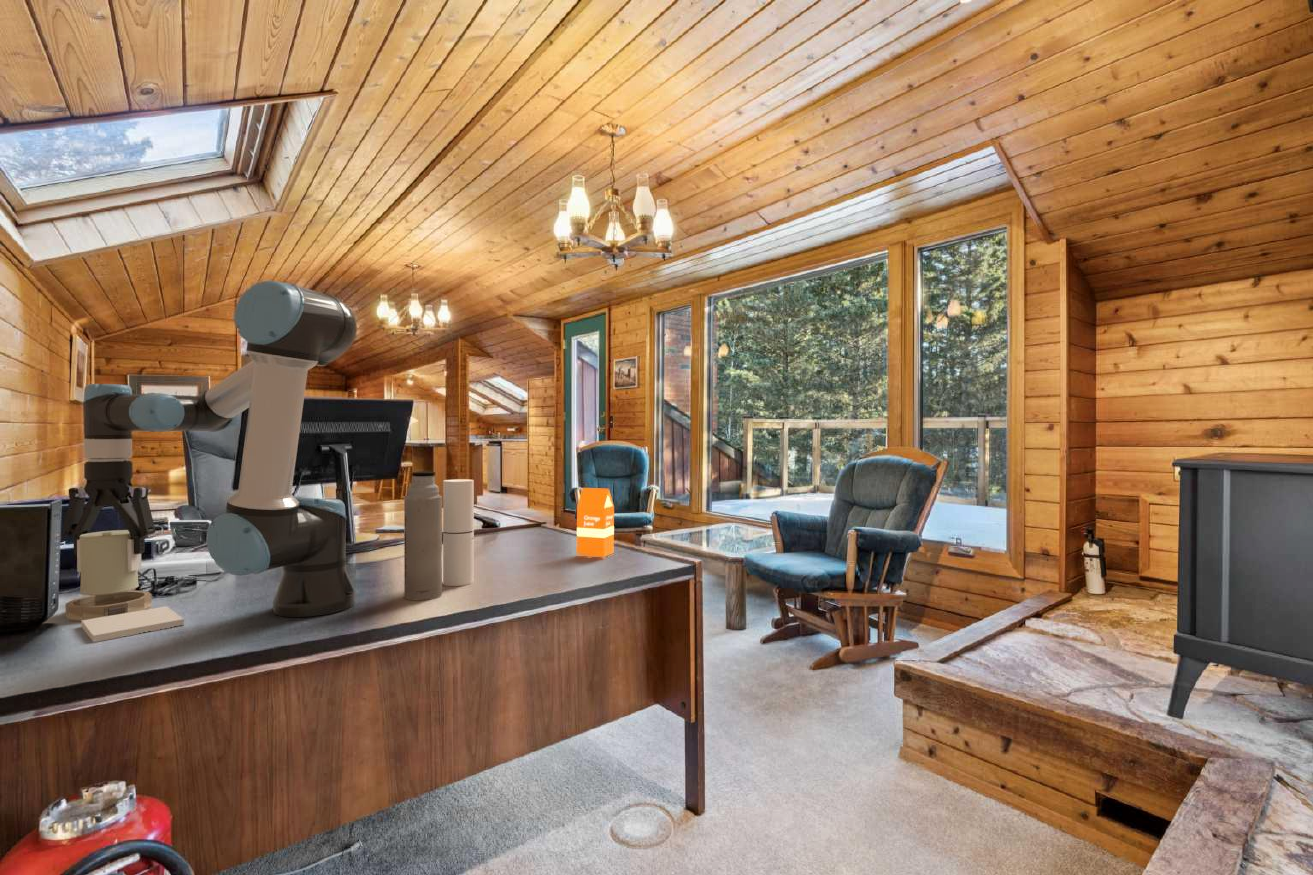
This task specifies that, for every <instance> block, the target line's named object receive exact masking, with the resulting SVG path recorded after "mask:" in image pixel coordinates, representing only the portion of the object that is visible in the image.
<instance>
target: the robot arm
mask: <svg viewBox="0 0 1313 875" xmlns="http://www.w3.org/2000/svg"><path fill="white" fill-rule="evenodd" d="M354 314H355V313H354V312H353V311H352V309H351V308H350V307H349V306H348V304H347V303H346V302H344V301H343V300H342V299H340V298H338V297H336V296H334V295H331V294H328V293H322V292H319V291H317V290H316V291H315V290H313V289H310V288H306V287H302V286H299V285H295V284H293V283H289V282H283V281H275V280H263V281H259V282H256V283H255V284H252V285H251V286H250V288H248V289H246V290H245V291H244V292H243V293H242V294H241V296H240V298H239V299H238V300H237V304H236V306H235V309H234V316H233V318H234V319H233V321H234V325H235V328H237V329H238V330H237V333H238V334H239V336H240V337H241V338H242V339H243V340H245V341H246V342H247V343H246V354H247V355H248V356H249V357H250V359H252V360H251V361H249V362H247V364H245V365H243V366H242V367H241V368H239V369H238V370H236V371H234V372H233V373H232V374H230V375H228V376H227V377H225V378H224V379H222V380H221V381H219V382H218V383H216V384H215V385H214V386H212V387H210V388H208V389H207V390H206V391H204V392H202V393H201V394H199V395H196V396H195V395H183V394H182V395H177V394H176V395H174V394H167V393H161V392H159V393H156V392H148V393H133V390H132V387H131V386H129V385H128V384H119V383H118V384H114V383H89V384H87V385H86V386H85V387H84V389H83V401H82V403H81V404H82V407H83V408H82V410H83V411H82V412H83V414H82V415H83V416H82V417H83V438H84V439H83V458H84V459H85V460H87V461H85V463H83V471H84V472H83V478H84V479H85V480H86V482H85V485H84V486H78V487H70V488H69V489H68V498H69V501H68V506H67V509H66V510H67V511H66V514H65V519H64V524H63V528H62V530H61V534H62V536H63V537H70V538H71V539H72V540H73V553H74V556H76V558H77V559H76V561H77V563H76V568H77V569H76V572H77V573H81V557H80V537H79V536H80V535H83V534H87V533H90V532H91V531H92V530H91V529H92V528H93V525H94V523H95V522H96V519H97V518H98V516H99V514H100V512H101V510H102V509H103V508H104V507H106V506H107V507H113V509H114V510H115V511H117V513H118V515H119V517H120V518H121V519H122V521H123V523H124V526H125V527H126V530H128V531H129V533H130V535H131V537H130V539H127V554H128V571H135V570H138V571H139V570H141V569H142V554H144V553H145V550H146V542H145V541H146V540H145V539H146V537H147V536H150V535H153V534H155V533H156V527H155V523H154V518H153V514H152V511H151V507H150V506H151V505H150V503H149V499H148V497H149V487H148V486H141V487H140V486H134V485H133V484H132V478H133V474H134V473H133V470H134V469H133V468H134V467H133V465H134V462H132V460H129V459H131V458H133V432H149V433H155V432H157V433H161V432H211V433H212V432H213V433H214V432H219V431H229V430H231V429H233V428H235V426H236V425H237V422H238V421H239V419H240V414H241V413H243V412H244V411H246V410H247V409H248V412H247V413H248V414H247V419H246V420H247V421H246V429H245V434H244V435H245V437H244V446H243V452H242V459H241V461H242V462H241V467H240V468H241V469H240V473H239V474H240V476H239V481H238V482H239V483H238V490H237V491H236V492H234V493H233V494H231V495H230V496H229V497H228V498H227V500H226V506H225V512H224V513H223V514H220V515H218V516H216V517H215V518H214V519H213V521H211V522H210V523H209V525H208V527H207V530H206V539H205V540H206V547H207V549H208V550H207V551H208V553H209V555H210V557H211V559H213V561H214V562H215V564H216V565H217V566H218V568H220V569H221V570H222V571H223V572H225V573H227V574H230V575H233V576H237V577H238V576H239V577H240V576H248V575H252V574H253V575H257V574H261V573H264V572H267V571H269V570H273V569H274V570H275V569H278V568H281V567H282V575H281V578H280V580H279V581H280V582H279V584H278V586H277V590H276V592H275V595H274V598H273V602H272V612H273V614H275V615H277V616H280V617H287V618H288V617H289V618H304V617H305V618H306V617H317V616H323V615H330V614H333V613H337V612H341V611H345V610H347V609H349V608H351V607H353V606H354V605H355V603H356V602H355V601H356V600H355V599H356V598H355V597H356V596H355V595H356V594H355V590H354V587H353V585H352V581H351V579H350V576H349V573H348V571H347V565H346V563H347V562H346V560H347V559H346V554H347V552H346V550H347V546H346V545H347V544H346V542H347V540H346V539H347V518H348V517H347V515H346V505H345V502H343V501H342V500H341V499H338V498H337V499H336V498H318V497H317V498H315V497H314V498H313V497H295V496H294V495H293V494H292V491H293V483H294V475H295V468H296V462H297V453H298V448H299V447H298V445H299V438H300V432H301V431H300V430H301V425H302V423H301V422H302V417H303V408H304V403H305V402H304V401H305V396H306V395H305V394H306V387H307V379H308V371H309V370H311V369H313V368H314V367H316V366H319V367H325V366H327V365H329V364H330V363H332V362H334V361H336V360H337V359H338V358H340V357H342V355H343V354H345V353H346V352H347V351H348V350H349V349H350V348H351V346H352V345H353V343H354V341H355V339H356V337H357V330H358V328H357V327H358V326H357V320H356V317H355V315H354ZM130 496H131V497H132V500H131V498H130ZM86 497H89V498H88V500H87V501H86V499H87V498H86ZM133 506H134V508H133Z"/></svg>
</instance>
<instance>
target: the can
mask: <svg viewBox="0 0 1313 875" xmlns="http://www.w3.org/2000/svg"><path fill="white" fill-rule="evenodd" d="M79 537H80V557H81V572H80V589H79V595H82V596H90V595H105V594H113V593H120V592H125V591H133V590H135V589H137V588H138V587H140V585H139V574H138V573H139V572H138V571H139V569H138V570H135V571H128V554H127V539H130V537H131V535H130V533H129V531H128V529H120V530H119V529H117V530H116V529H114V530H103V531H101V530H100V531H95V532H89V533H87V534H83V535H80V536H79Z"/></svg>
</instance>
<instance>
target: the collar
mask: <svg viewBox="0 0 1313 875" xmlns="http://www.w3.org/2000/svg"><path fill="white" fill-rule="evenodd" d="M148 607H149V608H150V607H152V593H151V592H149V590H148V591H147V590H135V589H132V590H129V591H125V592H120V593H113V594H105V595H85V596H83V597H78V598H74V599H72V600H70V601H68V602H66V603H65V607H64V608H65V617H66V619H67V620H68V621H70V620H71V621H79V622H81V620H87V619H93V618H99V617H105V616H111V615H117V614H123V613H129V612H135V611H141V610H147V608H148ZM149 608H148V609H149Z"/></svg>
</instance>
